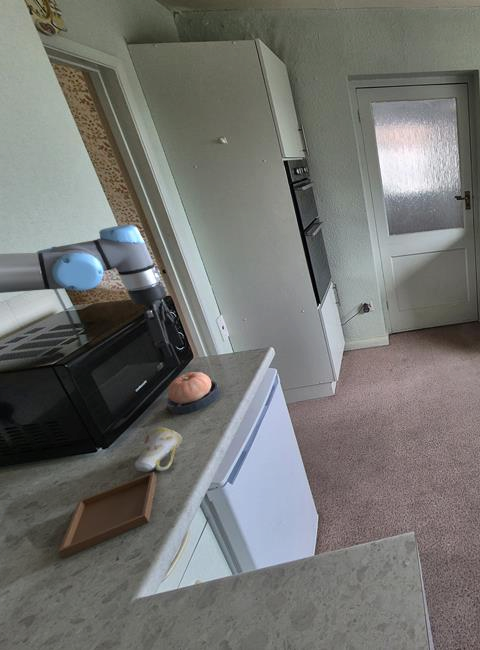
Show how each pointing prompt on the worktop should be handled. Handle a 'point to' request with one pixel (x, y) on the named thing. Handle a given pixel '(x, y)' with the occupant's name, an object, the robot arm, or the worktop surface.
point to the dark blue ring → (194, 406)
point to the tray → (109, 514)
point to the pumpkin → (189, 388)
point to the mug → (158, 449)
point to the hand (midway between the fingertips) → (176, 355)
